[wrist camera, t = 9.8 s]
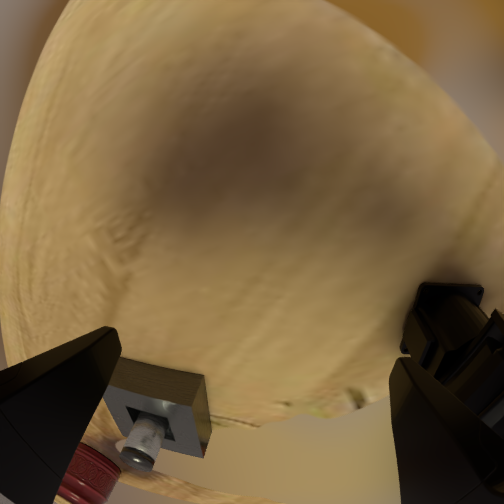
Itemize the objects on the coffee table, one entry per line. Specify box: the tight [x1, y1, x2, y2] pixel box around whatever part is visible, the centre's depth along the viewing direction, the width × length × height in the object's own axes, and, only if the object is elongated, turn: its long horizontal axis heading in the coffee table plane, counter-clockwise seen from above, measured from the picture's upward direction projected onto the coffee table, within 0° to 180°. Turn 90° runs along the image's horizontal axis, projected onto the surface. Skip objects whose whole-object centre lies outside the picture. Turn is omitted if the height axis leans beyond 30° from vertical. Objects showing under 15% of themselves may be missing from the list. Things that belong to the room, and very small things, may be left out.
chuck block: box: [103, 357, 212, 458], centre depth 26 cm, size 19×10×4 cm, turn 89°
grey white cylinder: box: [119, 411, 169, 472], centre depth 23 cm, size 3×3×8 cm
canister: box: [54, 443, 121, 504], centre depth 34 cm, size 13×13×18 cm
